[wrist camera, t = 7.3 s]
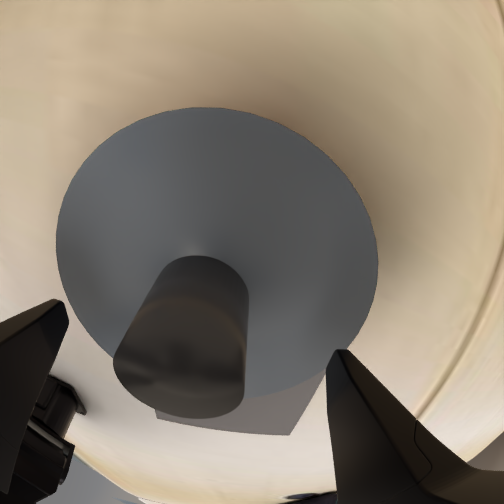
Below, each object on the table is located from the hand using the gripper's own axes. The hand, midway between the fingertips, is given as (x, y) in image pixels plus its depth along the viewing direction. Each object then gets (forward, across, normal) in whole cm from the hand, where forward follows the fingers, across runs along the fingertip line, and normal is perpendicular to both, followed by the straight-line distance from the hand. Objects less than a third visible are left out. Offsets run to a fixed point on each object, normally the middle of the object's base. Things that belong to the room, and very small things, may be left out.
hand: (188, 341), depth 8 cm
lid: (+3, 0, 0) cm, 3 cm away
